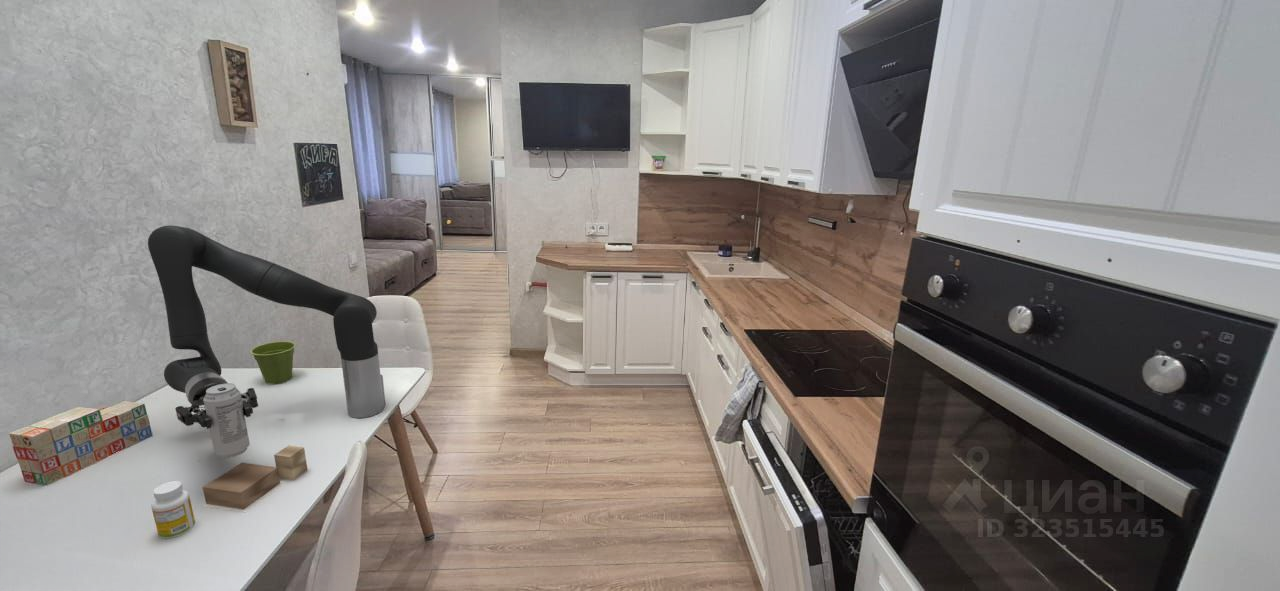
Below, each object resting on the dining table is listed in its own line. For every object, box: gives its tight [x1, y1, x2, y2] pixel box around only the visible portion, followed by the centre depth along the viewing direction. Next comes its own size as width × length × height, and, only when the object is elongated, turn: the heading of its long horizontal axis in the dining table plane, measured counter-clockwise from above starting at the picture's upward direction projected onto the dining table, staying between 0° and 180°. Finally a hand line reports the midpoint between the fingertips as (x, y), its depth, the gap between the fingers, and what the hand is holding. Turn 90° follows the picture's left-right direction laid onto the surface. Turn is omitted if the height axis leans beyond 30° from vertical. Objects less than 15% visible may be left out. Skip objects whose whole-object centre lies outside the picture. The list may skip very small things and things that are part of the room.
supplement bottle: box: [151, 480, 196, 539], centre depth 98 cm, size 5×5×10 cm
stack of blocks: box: [9, 400, 153, 486], centre depth 119 cm, size 21×6×12 cm, turn 170°
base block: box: [202, 462, 281, 509], centre depth 109 cm, size 9×9×4 cm
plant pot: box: [249, 340, 297, 385], centre depth 163 cm, size 12×12×11 cm
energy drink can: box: [204, 382, 251, 459], centre depth 108 cm, size 6×6×15 cm
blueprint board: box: [202, 480, 287, 513], centre depth 111 cm, size 16×11×1 cm
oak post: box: [273, 444, 308, 481], centre depth 116 cm, size 4×4×6 cm
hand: (229, 418), depth 106 cm, fingers closed on energy drink can, 6 cm apart
